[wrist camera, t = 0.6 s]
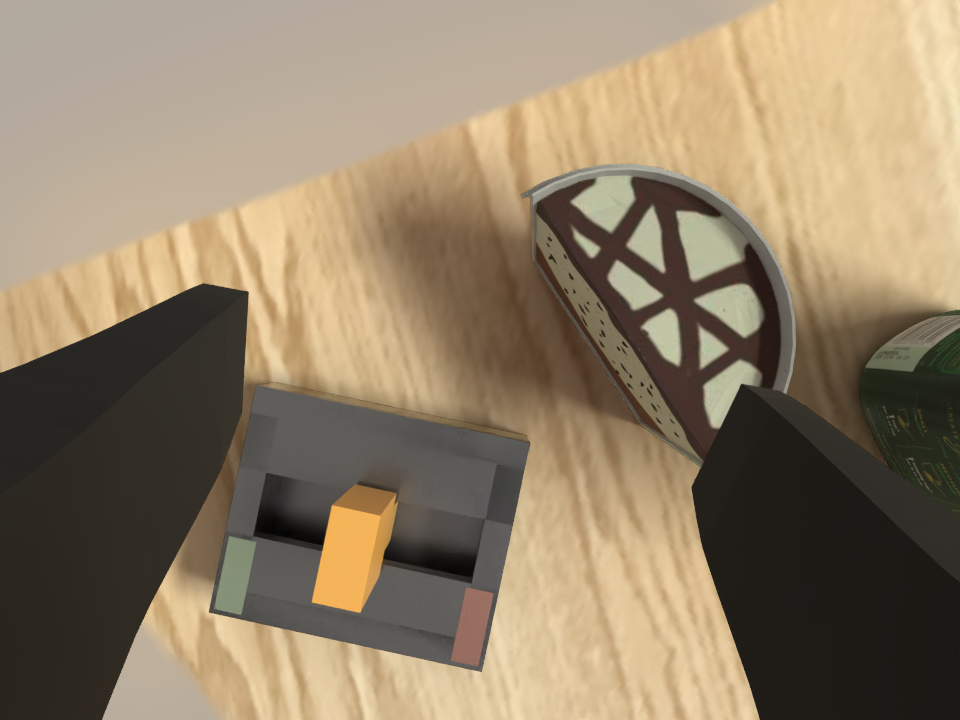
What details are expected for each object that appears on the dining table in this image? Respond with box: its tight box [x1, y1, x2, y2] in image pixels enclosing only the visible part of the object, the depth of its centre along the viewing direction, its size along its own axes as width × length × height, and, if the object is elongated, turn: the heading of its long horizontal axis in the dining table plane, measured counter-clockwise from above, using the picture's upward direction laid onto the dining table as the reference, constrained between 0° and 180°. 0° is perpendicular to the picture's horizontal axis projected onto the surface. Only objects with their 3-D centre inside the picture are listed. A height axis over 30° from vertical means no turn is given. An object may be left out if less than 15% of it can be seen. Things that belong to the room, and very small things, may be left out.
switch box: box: [209, 383, 530, 672], centre depth 33 cm, size 10×12×3 cm
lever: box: [312, 484, 398, 613], centre depth 30 cm, size 4×2×7 cm, turn 168°
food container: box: [521, 164, 796, 467], centre depth 29 cm, size 12×6×10 cm, turn 33°
